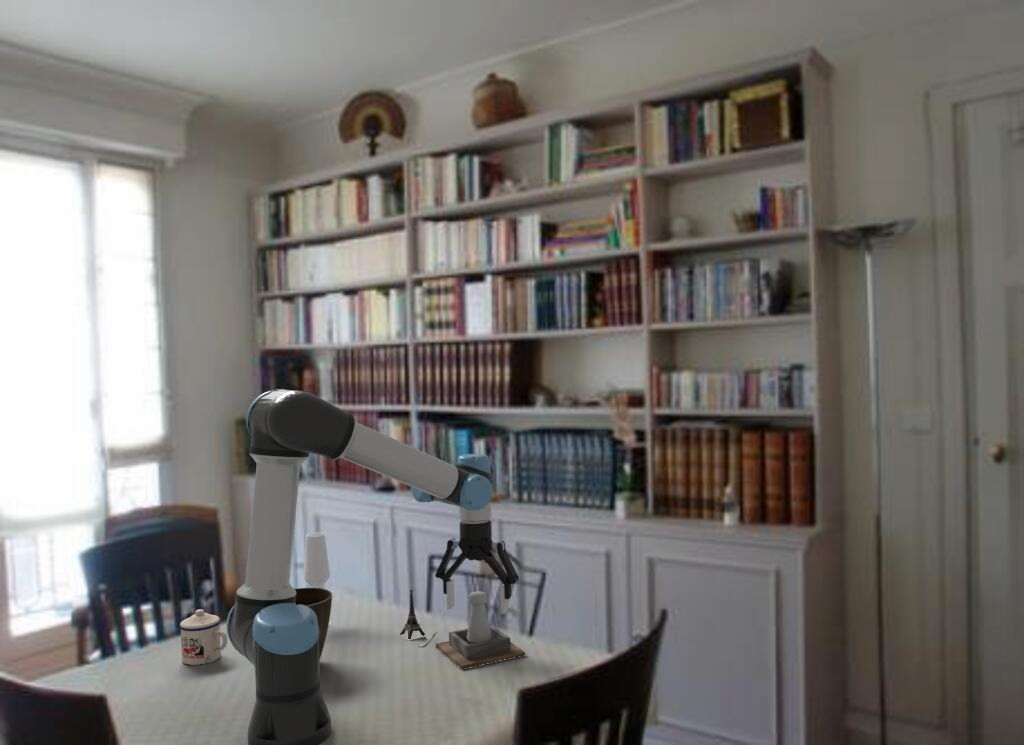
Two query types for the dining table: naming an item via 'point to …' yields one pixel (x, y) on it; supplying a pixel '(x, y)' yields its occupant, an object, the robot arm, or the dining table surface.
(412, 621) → the eiffel tower figurine
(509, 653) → the socket stand
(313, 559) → the champagne flute
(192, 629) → the teacup with lid
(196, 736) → the dining table surface
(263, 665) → the robot arm
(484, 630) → the salt shaker
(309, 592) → the plant pot
